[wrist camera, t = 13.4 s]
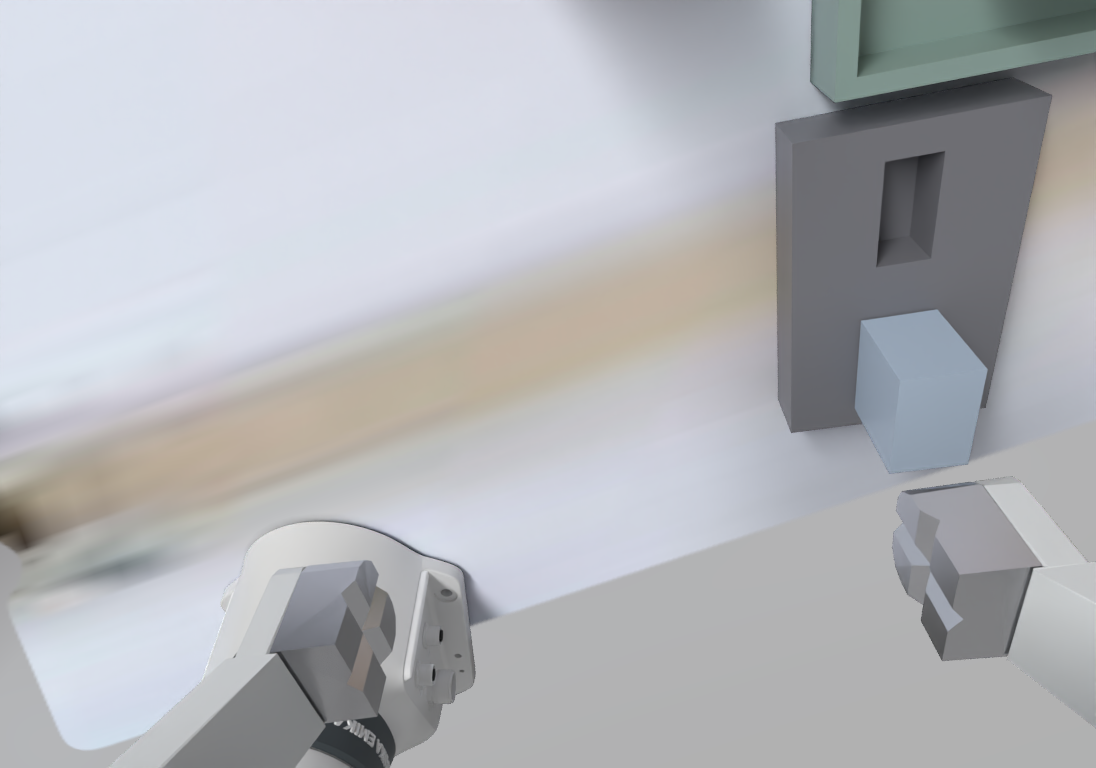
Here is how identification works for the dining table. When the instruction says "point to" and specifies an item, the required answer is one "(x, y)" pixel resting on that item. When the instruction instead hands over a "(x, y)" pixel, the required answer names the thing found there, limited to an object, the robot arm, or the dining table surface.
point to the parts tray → (938, 40)
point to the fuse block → (897, 230)
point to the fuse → (918, 391)
